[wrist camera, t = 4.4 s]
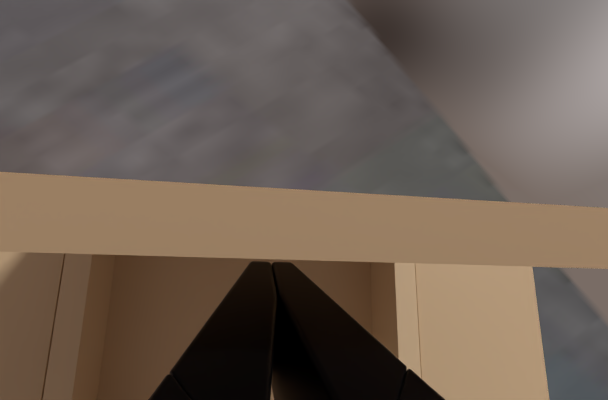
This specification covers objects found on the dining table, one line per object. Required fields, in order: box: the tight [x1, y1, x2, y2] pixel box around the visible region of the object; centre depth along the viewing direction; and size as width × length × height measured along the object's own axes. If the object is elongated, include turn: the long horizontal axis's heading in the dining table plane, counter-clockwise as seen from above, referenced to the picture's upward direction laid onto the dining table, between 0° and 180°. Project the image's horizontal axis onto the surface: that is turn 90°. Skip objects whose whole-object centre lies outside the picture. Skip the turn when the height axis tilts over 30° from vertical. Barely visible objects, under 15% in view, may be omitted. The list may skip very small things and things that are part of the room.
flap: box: [0, 172, 608, 269], centre depth 9 cm, size 1×12×10 cm, turn 91°
